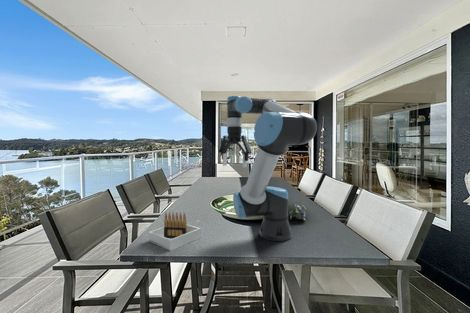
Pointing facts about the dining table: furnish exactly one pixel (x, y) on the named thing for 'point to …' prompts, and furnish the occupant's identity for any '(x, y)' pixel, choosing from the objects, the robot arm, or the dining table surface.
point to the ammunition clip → (174, 225)
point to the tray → (176, 242)
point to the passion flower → (298, 211)
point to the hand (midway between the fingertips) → (234, 166)
